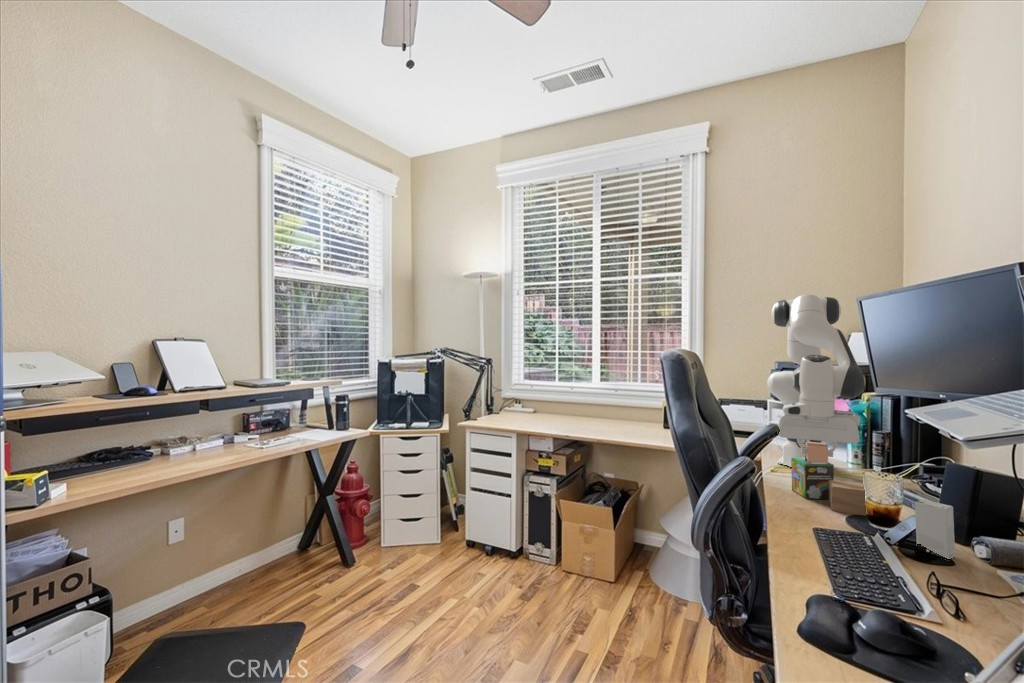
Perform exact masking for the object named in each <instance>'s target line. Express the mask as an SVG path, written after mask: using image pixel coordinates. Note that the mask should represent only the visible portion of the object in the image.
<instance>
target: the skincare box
mask: <svg viewBox="0 0 1024 683" xmlns="http://www.w3.org/2000/svg"><path fill="white" fill-rule="evenodd" d="M914 513H915V514H914V515H915V536H916V540H915V541H916V545H917V544H921V545H923V546H924V547H926V548H927V549H929V550H931V551H933V552H934V553H937V554H939V555H941V556H943V557H945V558H947V559H951V558H952V559H954V558H955V557H956V548H955V547H956V544H955V542H956V541H955V522H954V521H955V518H954V506H952V505H949V504H946V503H945V504H944V503H940V502H935V501H933V500H932V501H931V500H926V499H923V498H921V499H919V500H917V501H915V502H914ZM953 557H954V558H953ZM952 559H951V560H952Z"/></svg>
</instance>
